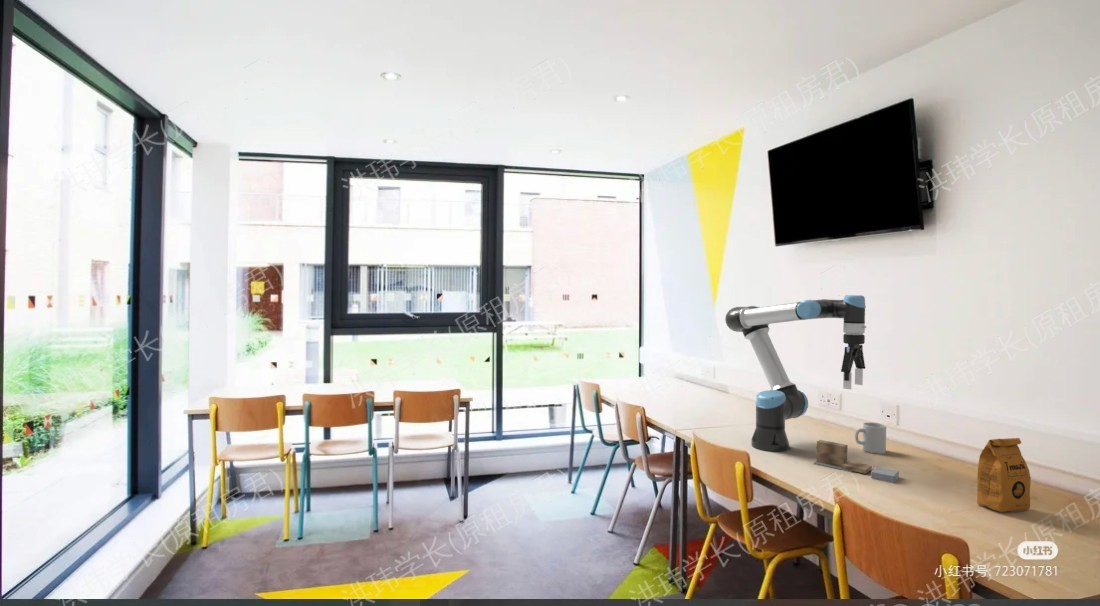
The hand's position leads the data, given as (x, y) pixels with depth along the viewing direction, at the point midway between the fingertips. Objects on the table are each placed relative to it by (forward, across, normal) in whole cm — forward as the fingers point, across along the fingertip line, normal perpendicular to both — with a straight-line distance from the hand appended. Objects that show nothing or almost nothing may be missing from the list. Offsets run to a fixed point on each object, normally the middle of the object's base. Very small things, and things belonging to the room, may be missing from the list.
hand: (853, 386), depth 226 cm
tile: (+28, -13, -16) cm, 34 cm away
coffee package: (+29, -22, -50) cm, 62 cm away
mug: (+29, +16, -2) cm, 33 cm away
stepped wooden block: (+28, -15, -2) cm, 32 cm away
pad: (+29, -15, +1) cm, 32 cm away
